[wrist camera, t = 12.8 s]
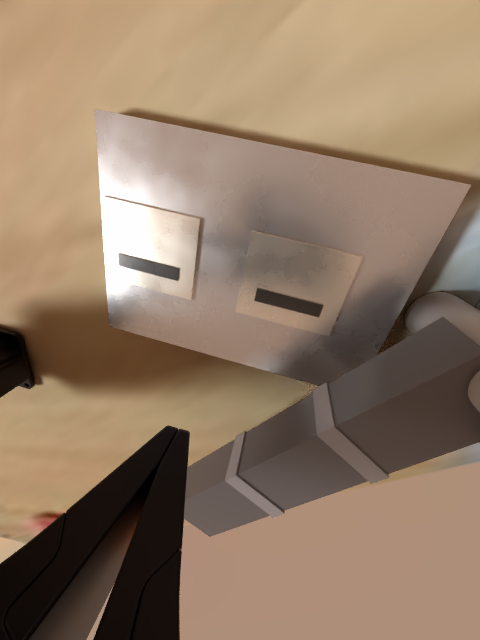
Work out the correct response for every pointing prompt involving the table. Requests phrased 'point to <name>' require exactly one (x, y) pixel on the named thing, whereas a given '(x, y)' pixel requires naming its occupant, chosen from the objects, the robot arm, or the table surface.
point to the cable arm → (352, 424)
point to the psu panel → (260, 245)
